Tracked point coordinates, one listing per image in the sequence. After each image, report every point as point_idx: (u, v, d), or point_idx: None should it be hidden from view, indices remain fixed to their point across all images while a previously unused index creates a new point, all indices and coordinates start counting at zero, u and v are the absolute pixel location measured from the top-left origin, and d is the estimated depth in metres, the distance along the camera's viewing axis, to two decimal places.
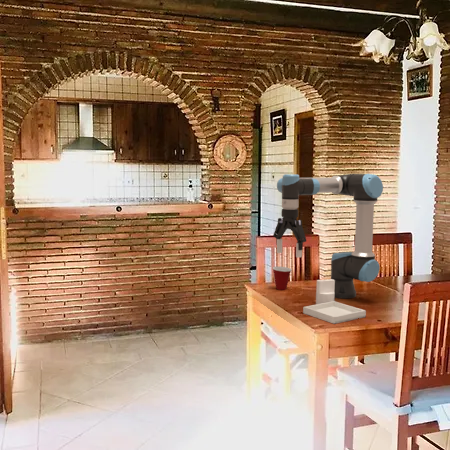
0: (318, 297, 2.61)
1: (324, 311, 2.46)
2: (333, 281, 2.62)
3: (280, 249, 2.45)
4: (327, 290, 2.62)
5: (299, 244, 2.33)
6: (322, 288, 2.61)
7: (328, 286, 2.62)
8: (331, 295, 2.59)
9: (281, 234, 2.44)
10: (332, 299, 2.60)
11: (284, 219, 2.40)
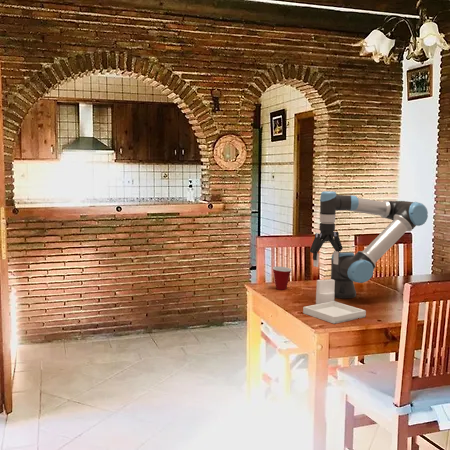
0: (318, 297, 2.61)
1: (324, 311, 2.46)
2: (333, 281, 2.62)
3: (335, 261, 2.65)
4: (327, 290, 2.62)
5: None
6: (322, 288, 2.61)
7: (328, 286, 2.62)
8: (331, 295, 2.59)
9: (334, 246, 2.64)
10: (332, 299, 2.60)
11: None
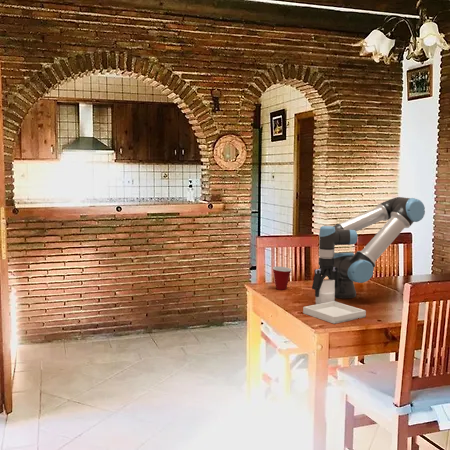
0: None
1: (324, 311, 2.46)
2: (333, 281, 2.62)
3: None
4: (327, 290, 2.62)
5: None
6: (322, 288, 2.61)
7: (328, 286, 2.62)
8: (331, 295, 2.59)
9: None
10: (332, 299, 2.60)
11: None
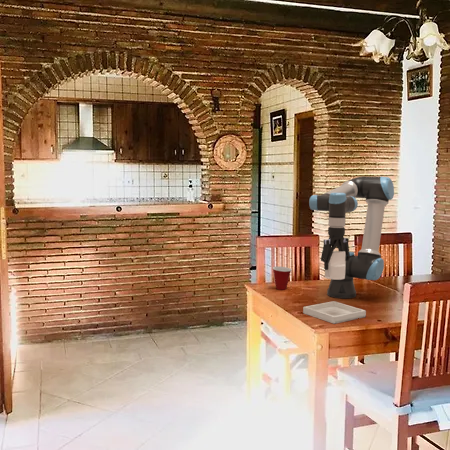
0: None
1: (324, 311, 2.46)
2: (344, 253, 2.40)
3: None
4: (337, 262, 2.40)
5: None
6: (331, 260, 2.39)
7: (338, 258, 2.40)
8: (342, 268, 2.38)
9: None
10: (343, 272, 2.38)
11: None
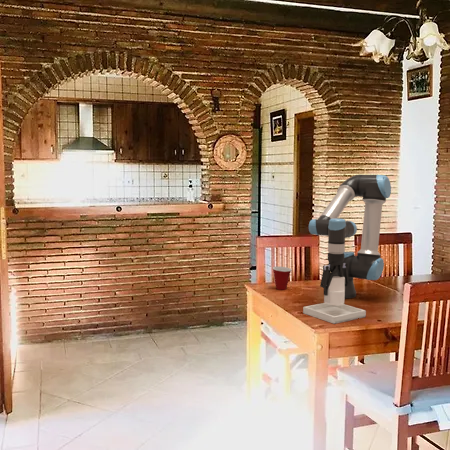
0: None
1: (324, 311, 2.46)
2: (343, 278, 2.41)
3: None
4: (337, 288, 2.41)
5: None
6: (331, 286, 2.40)
7: (338, 284, 2.41)
8: (341, 293, 2.39)
9: None
10: (342, 298, 2.39)
11: None
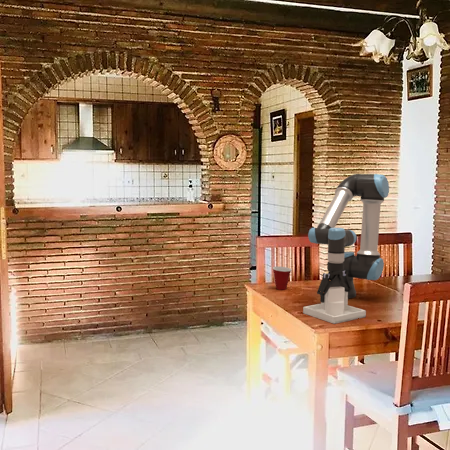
0: (327, 306, 2.41)
1: None
2: (343, 289, 2.42)
3: (344, 301, 2.46)
4: (336, 298, 2.42)
5: None
6: (331, 297, 2.40)
7: (337, 294, 2.42)
8: (341, 304, 2.39)
9: (343, 286, 2.45)
10: (342, 308, 2.40)
11: None
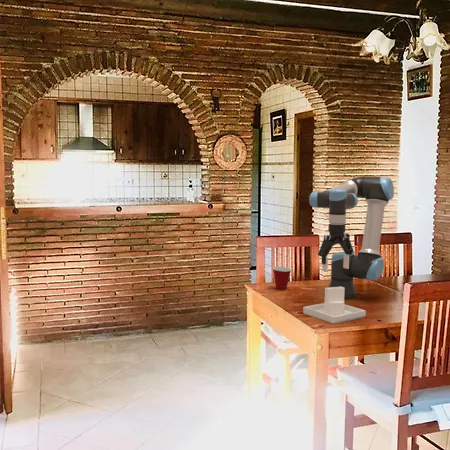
0: (327, 306, 2.41)
1: None
2: (343, 289, 2.42)
3: (346, 264, 2.44)
4: (336, 298, 2.42)
5: None
6: (331, 297, 2.40)
7: (337, 294, 2.41)
8: (341, 304, 2.39)
9: (344, 249, 2.43)
10: (342, 308, 2.40)
11: None
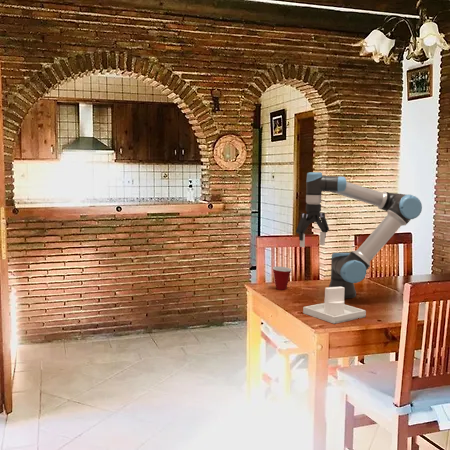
0: (327, 306, 2.41)
1: None
2: (343, 289, 2.42)
3: (322, 241, 2.66)
4: (336, 298, 2.42)
5: None
6: (331, 297, 2.40)
7: (337, 294, 2.41)
8: (341, 304, 2.39)
9: (321, 227, 2.65)
10: (342, 308, 2.40)
11: None
